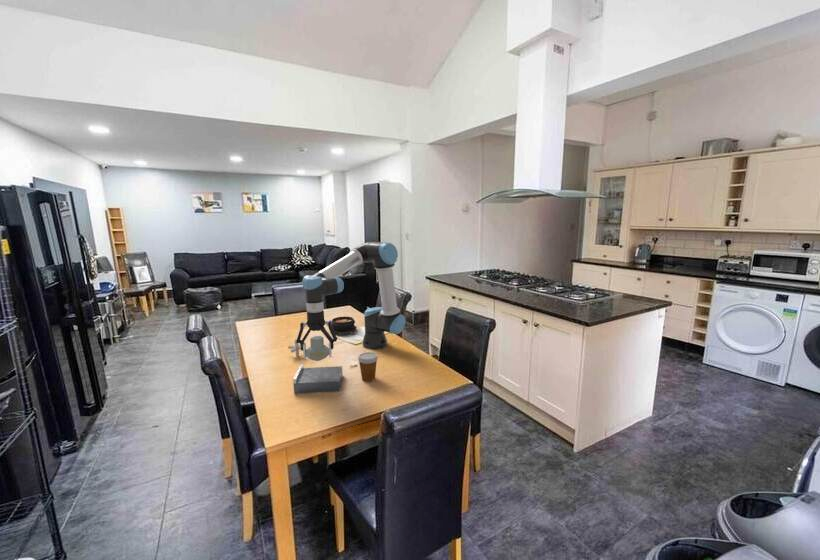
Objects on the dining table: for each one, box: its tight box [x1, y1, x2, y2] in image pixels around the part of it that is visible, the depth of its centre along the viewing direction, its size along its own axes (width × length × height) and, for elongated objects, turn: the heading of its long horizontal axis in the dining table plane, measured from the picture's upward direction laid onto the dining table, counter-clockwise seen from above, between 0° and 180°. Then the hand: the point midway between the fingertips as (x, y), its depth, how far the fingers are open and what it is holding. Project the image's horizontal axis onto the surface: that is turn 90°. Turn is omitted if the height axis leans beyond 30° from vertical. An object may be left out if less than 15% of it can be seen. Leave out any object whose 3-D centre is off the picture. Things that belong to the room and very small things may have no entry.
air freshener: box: [305, 335, 329, 362], centre depth 162 cm, size 11×8×10 cm
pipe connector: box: [287, 338, 301, 357], centre depth 198 cm, size 10×10×10 cm
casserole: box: [330, 316, 358, 335], centre depth 241 cm, size 25×19×8 cm
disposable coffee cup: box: [357, 352, 379, 383], centre depth 169 cm, size 10×10×12 cm
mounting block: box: [292, 363, 343, 395], centre depth 165 cm, size 20×16×7 cm
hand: (317, 356), depth 163 cm, fingers closed on air freshener, 11 cm apart
